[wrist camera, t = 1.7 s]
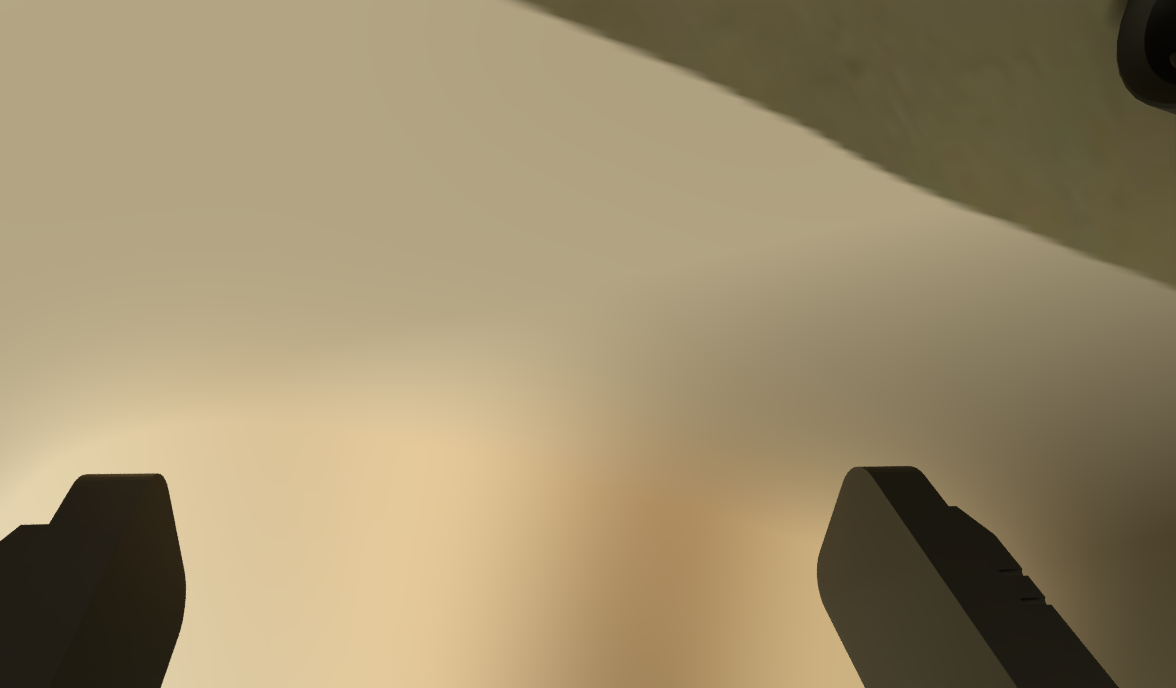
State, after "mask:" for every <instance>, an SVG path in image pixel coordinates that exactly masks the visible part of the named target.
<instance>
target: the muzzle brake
mask: <svg viewBox="0 0 1176 688" xmlns="http://www.w3.org/2000/svg"><path fill="white" fill-rule="evenodd" d="M1170 61H1171V62H1170ZM1117 63H1118V69H1119V74H1120V76H1121V78H1122V80H1123V82H1124V84H1125V86H1126V88H1127V89H1128V90H1129V91H1130V92H1131V94H1132V95H1133V96H1134V97H1135V98H1136V99H1138V100H1140V101H1142V102H1144V103H1146V104H1147V105H1150V106H1153V107H1155V108H1158V109H1161V110H1164V111H1167V112H1170V113H1173V114H1176V0H1129V2H1128V4H1127V6H1126V9H1125V12H1124V15H1123V18H1122V20H1121V24H1120V30H1119V35H1118V40H1117ZM1171 63H1172V64H1173V65H1172V64H1171Z"/></svg>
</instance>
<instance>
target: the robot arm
mask: <svg viewBox="0 0 1176 688" xmlns="http://www.w3.org/2000/svg"><path fill="white" fill-rule="evenodd" d="M817 580H818V587H819V592H820V596H821V599H822V602H823V605H824V607H825V609H826V611H827V613H828V615H829V617H830V619H831V621H832V623H833V625H834V627H835V629H836V631H837V633H838V635H839V637H840V639H841V641H842V643H843V645H844V647H845V649H846V651H847V653H848V655H849V657H850V659H851V661H852V663H853V665H854V667H855V669H856V671H857V672H858V675H859V677H860V678H861V681H862V682H863V684H864V686H865V688H1119V687H1118V686H1117V685H1116V684H1115V683H1114V681H1113V680H1112V679H1111V678H1110V676H1109V675H1108V674H1107V673H1106V671H1105V670H1104V669H1103V668H1102V667H1101V665H1100V664H1099V663H1098V662H1097V660H1096V659H1095V658H1094V657H1093V655H1092V654H1091V653H1090V652H1089V651H1088V649H1087V648H1086V647H1085V646H1084V645H1083V643H1082V642H1081V641H1080V639H1079V638H1078V637H1077V636H1076V634H1075V633H1074V632H1073V631H1072V630H1071V628H1070V627H1069V626H1068V625H1067V623H1066V622H1065V621H1064V620H1063V618H1061V616H1060V615H1059V614H1058V612H1057V611H1056V610H1055V609H1054V607H1053V606H1052V605H1047V604H1046V603H1045V596H1044V595H1043V594H1042V593H1041V591H1040V590H1039V589H1038V588H1037V586H1036V585H1035V584H1034V583H1033V581H1032V580H1031V579H1030V578H1029V577H1028V576H1023V574H1022V568H1021V567H1020V565H1019V564H1018V563H1017V562H1016V560H1015V559H1014V558H1013V557H1012V556H1011V554H1010V553H1009V552H1008V551H1007V549H1006V548H1005V547H1004V546H1003V545H1002V543H1001V542H1000V541H999V539H998V538H997V537H996V536H995V535H994V534H993V533H992V532H990V531H989V530H988V529H986V528H985V527H983V526H982V525H981V524H979V523H978V522H977V521H975V520H974V519H973V518H971V517H970V516H969V515H967V514H966V513H965V512H963V511H962V510H961V509H959V508H958V507H957V506H948V505H947V504H946V502H945V501H944V500H943V499H942V497H941V496H940V495H939V493H938V492H937V491H936V489H935V488H934V487H933V486H932V485H931V483H930V482H929V481H928V479H927V478H926V477H925V475H924V474H923V473H922V472H921V471H920V470H918V469H917V468H915V467H912V466H891V467H890V466H889V467H888V466H885V467H883V466H882V467H854V468H852V469H851V470H850V471H849V472H848V473H847V475H846V476H845V479H844V481H843V484H842V487H841V490H840V493H839V496H838V499H837V502H836V505H835V508H834V511H833V514H832V517H831V520H830V523H829V526H828V529H827V532H826V535H825V538H824V541H823V544H822V547H821V550H820V553H819V557H818V563H817ZM185 599H186V581H185V572H184V567H183V561H182V556H181V551H180V546H179V541H178V536H177V531H176V526H175V521H174V515H173V510H172V505H171V500H170V495H169V490H168V487H167V483H166V480H165V479H164V477H163V476H162V475H161V474H86V475H82V476H80V477H79V478H78V479H77V480H76V481H75V482H74V484H73V485H72V487H71V488H70V490H69V492H68V493H67V495H66V497H65V498H64V500H63V502H62V504H61V505H60V507H59V508H58V510H57V512H56V513H55V515H54V517H53V518H52V520H51V522H50V523H49V524H41V525H40V524H39V525H20V526H19V527H18V528H16V529H15V530H14V531H13V532H11V533H10V534H9V535H7V536H6V537H5V538H4V539H2V540H1V541H0V688H161V685H162V682H163V679H164V676H165V673H166V671H167V668H168V665H169V662H170V659H171V656H172V653H173V650H174V647H175V645H176V642H177V639H178V636H179V633H180V629H181V625H182V621H183V615H184V608H185Z"/></svg>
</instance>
